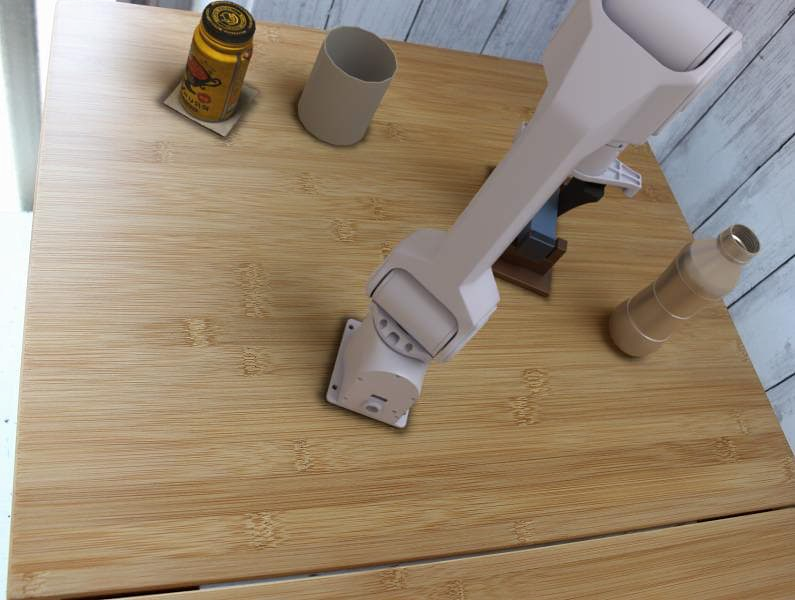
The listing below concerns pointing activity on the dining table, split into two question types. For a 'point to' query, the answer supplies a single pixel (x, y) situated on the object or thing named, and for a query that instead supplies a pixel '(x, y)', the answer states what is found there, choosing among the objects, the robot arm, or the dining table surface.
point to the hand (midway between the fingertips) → (538, 206)
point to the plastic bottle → (682, 290)
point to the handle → (540, 231)
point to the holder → (529, 264)
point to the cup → (346, 85)
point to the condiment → (217, 68)
